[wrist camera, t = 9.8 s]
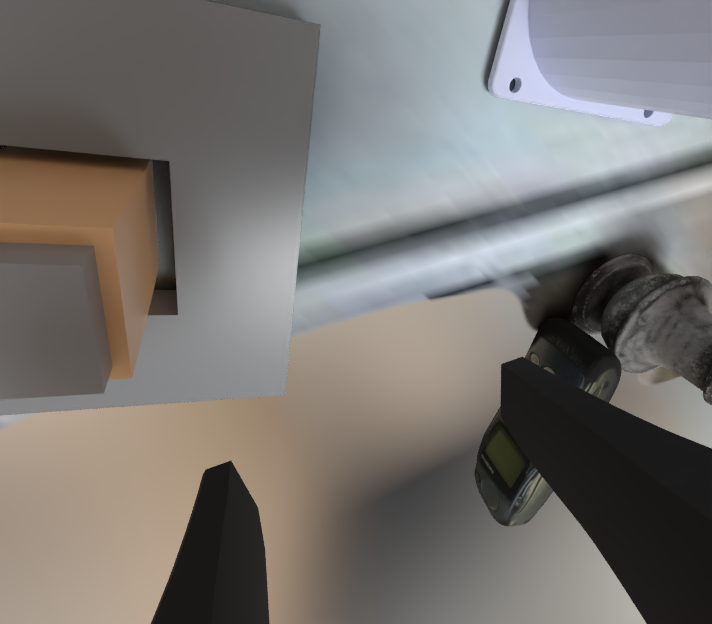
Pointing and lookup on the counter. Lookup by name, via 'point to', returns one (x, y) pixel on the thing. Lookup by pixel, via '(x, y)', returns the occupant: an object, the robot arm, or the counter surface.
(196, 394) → the socket plate
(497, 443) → the mobile phone
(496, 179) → the counter surface
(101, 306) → the plug
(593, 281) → the salt shaker
